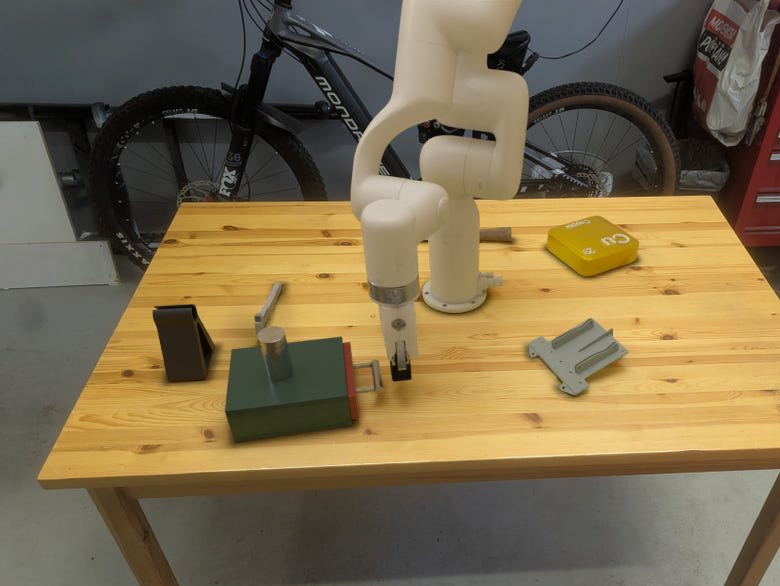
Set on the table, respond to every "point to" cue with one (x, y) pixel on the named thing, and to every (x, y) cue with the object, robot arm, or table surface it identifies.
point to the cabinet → (288, 392)
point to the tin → (275, 353)
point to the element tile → (592, 245)
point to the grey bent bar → (267, 309)
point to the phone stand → (183, 342)
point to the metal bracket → (578, 354)
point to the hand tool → (495, 234)
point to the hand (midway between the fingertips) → (401, 377)
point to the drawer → (351, 379)
